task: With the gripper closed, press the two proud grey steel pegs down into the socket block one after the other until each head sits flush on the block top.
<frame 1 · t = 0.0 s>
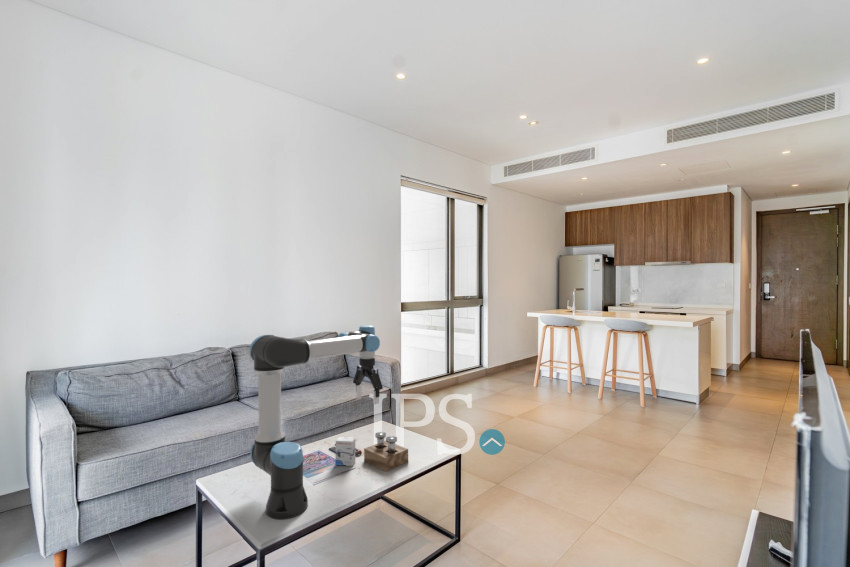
hand: (367, 400, 203), 28 cm above the table, fingers open, 13 cm apart
ink box: (345, 464, 197), on the table
peg near: (391, 445, 197), point 9 cm above the table, slide at 5.0 cm
socket block: (386, 461, 200), on the table
peg far: (380, 440, 203), point 9 cm above the table, slide at 5.0 cm
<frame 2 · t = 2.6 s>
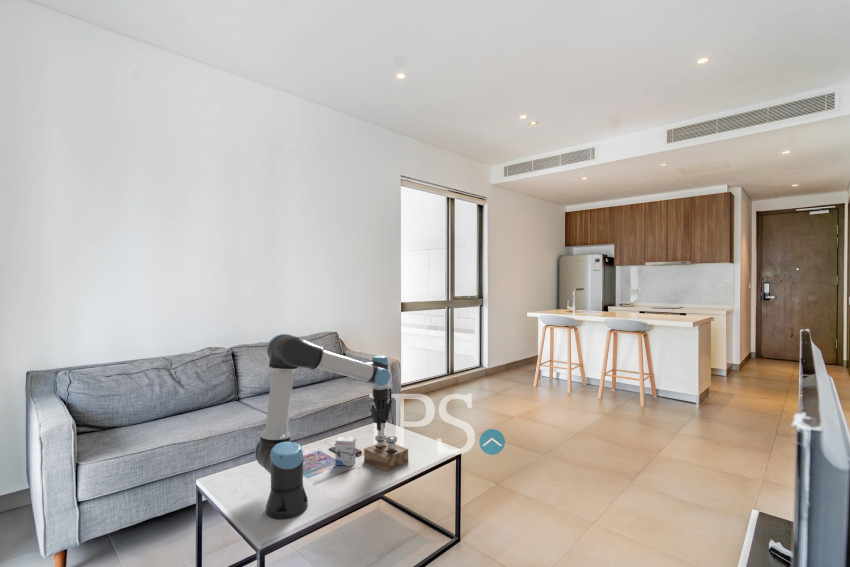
hand: (380, 436, 203), 11 cm above the table, fingers closed
peg far: (380, 443, 203), point 7 cm above the table, slide at 3.5 cm, touching gripper
everything else where it was.
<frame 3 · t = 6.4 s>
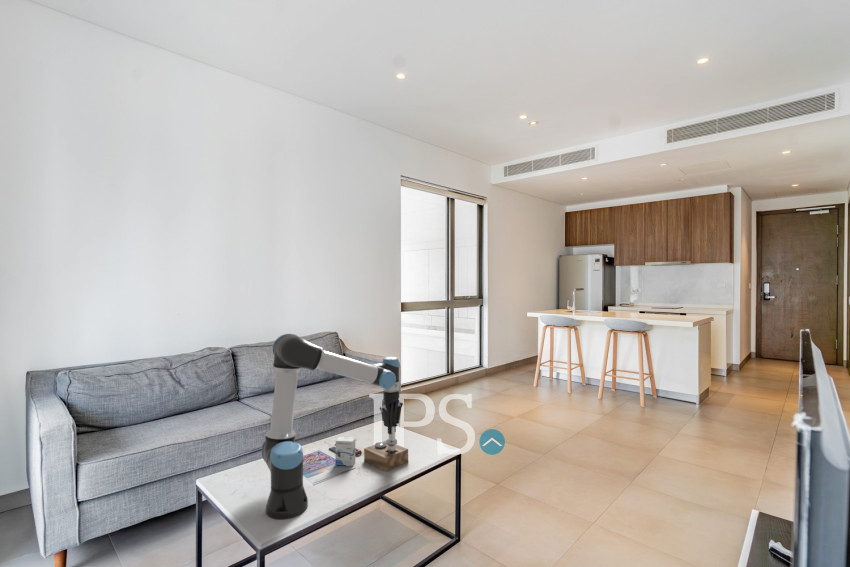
hand: (391, 440, 197), 11 cm above the table, fingers closed
peg near: (391, 447, 197), point 8 cm above the table, slide at 3.8 cm, touching gripper
peg far: (380, 451, 203), point 4 cm above the table, slide at 0.0 cm
everything else where it was.
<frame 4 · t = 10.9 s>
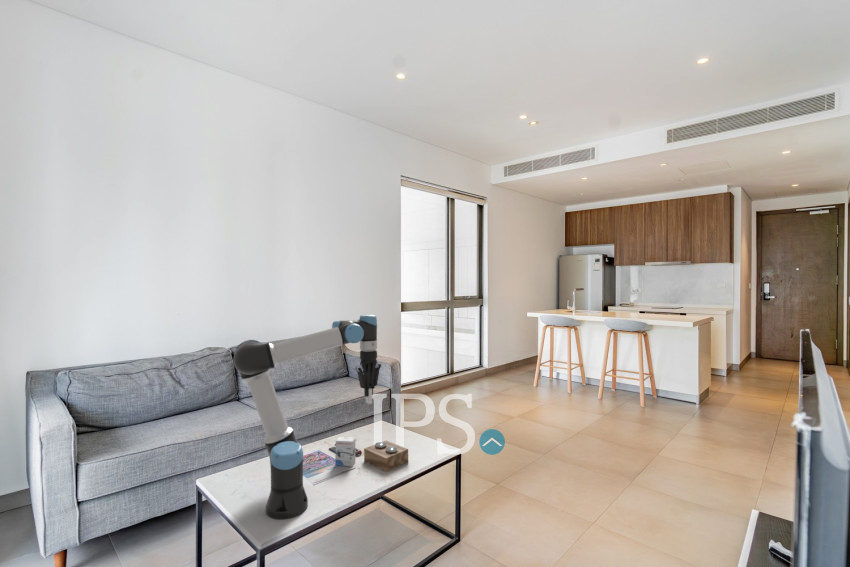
hand: (368, 403, 185), 32 cm above the table, fingers closed
peg near: (391, 455, 197), point 4 cm above the table, slide at 0.0 cm
everything else where it was.
at the end: peg far slide at 0.0 cm; peg near slide at 0.0 cm; peg near touching nothing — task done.
